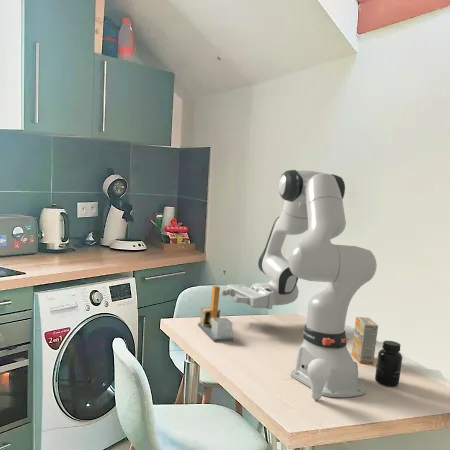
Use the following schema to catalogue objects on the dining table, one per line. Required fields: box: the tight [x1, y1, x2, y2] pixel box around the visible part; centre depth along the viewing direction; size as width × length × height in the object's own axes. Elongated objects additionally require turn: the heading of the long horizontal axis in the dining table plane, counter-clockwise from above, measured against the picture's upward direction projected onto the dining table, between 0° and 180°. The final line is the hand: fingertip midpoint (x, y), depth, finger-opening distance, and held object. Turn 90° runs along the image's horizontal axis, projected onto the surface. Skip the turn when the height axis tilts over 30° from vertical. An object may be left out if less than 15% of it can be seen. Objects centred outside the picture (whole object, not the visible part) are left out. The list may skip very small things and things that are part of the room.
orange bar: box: [206, 285, 221, 326], centre depth 185 cm, size 10×4×14 cm, turn 21°
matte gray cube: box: [211, 317, 233, 339], centre depth 179 cm, size 6×5×5 cm
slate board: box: [197, 322, 235, 343], centre depth 185 cm, size 18×7×1 cm, turn 21°
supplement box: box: [351, 316, 379, 365], centre depth 171 cm, size 8×5×13 cm, turn 6°
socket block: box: [199, 306, 221, 326], centre depth 190 cm, size 4×6×6 cm, turn 111°
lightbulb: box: [307, 358, 331, 401], centre depth 137 cm, size 6×6×11 cm
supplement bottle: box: [374, 340, 403, 388], centre depth 153 cm, size 7×7×12 cm
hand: (228, 296), depth 190 cm, fingers open, 8 cm apart
